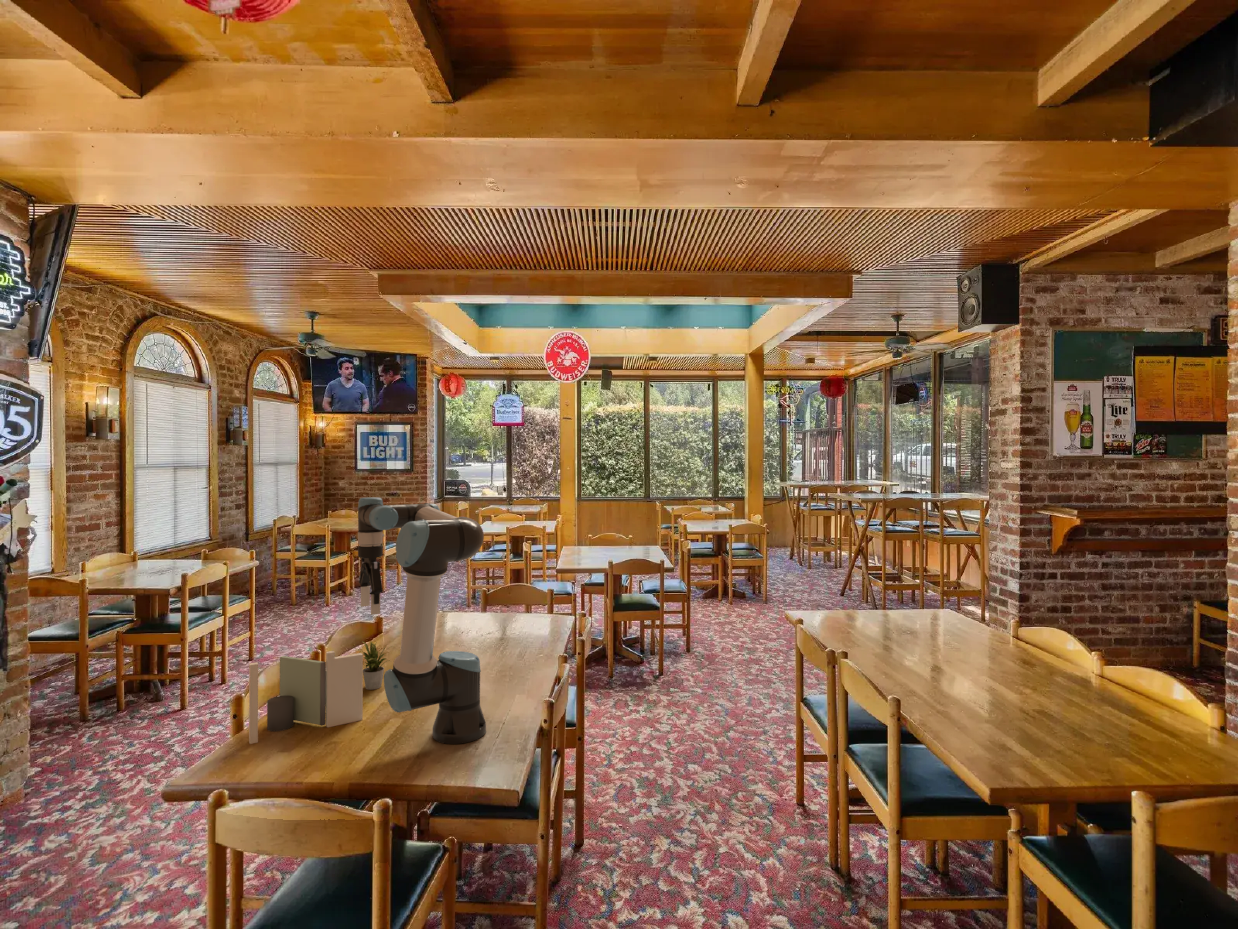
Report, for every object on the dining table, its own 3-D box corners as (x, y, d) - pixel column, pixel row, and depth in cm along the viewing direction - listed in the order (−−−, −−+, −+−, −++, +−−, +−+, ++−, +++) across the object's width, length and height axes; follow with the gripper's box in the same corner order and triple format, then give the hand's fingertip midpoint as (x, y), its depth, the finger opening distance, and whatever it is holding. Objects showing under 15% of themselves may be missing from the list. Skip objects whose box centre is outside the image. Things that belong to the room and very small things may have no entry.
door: (322, 725, 189) (323, 663, 189) (279, 717, 195) (279, 657, 195) (326, 724, 190) (326, 662, 190) (283, 716, 196) (283, 655, 196)
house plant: (339, 688, 223) (339, 641, 223) (374, 677, 234) (374, 633, 234) (364, 697, 215) (364, 648, 215) (399, 685, 226) (399, 639, 226)
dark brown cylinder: (294, 728, 189) (294, 701, 189) (267, 733, 186) (267, 705, 186) (292, 720, 195) (293, 693, 195) (266, 724, 192) (266, 698, 192)
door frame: (362, 720, 195) (362, 648, 195) (249, 744, 178) (249, 665, 178) (361, 717, 197) (361, 646, 197) (249, 741, 180) (249, 663, 180)
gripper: (392, 548, 200) (392, 616, 200) (372, 540, 221) (372, 601, 221) (367, 550, 196) (367, 619, 196) (349, 541, 216) (349, 604, 216)
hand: (370, 610), depth 208 cm, fingers open, 13 cm apart
